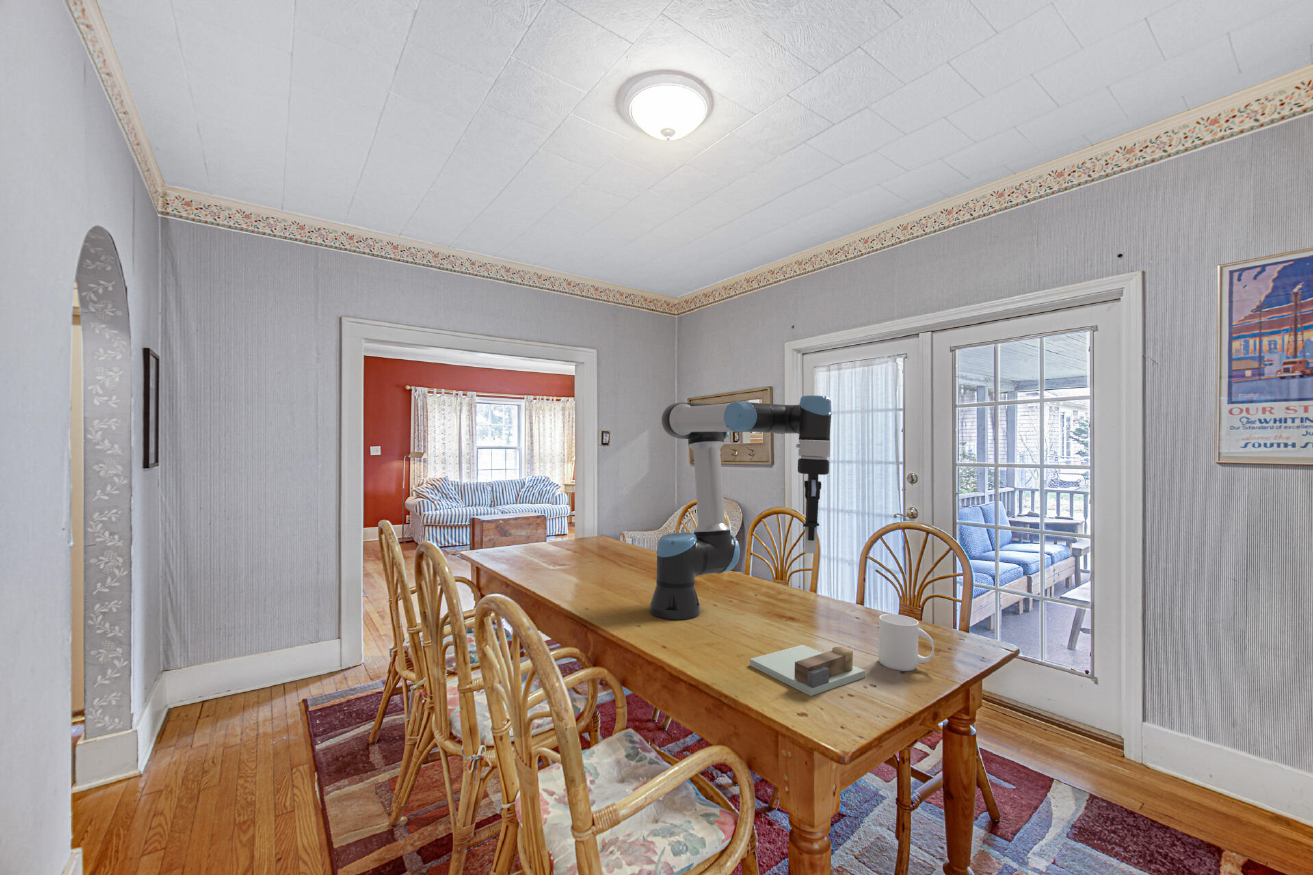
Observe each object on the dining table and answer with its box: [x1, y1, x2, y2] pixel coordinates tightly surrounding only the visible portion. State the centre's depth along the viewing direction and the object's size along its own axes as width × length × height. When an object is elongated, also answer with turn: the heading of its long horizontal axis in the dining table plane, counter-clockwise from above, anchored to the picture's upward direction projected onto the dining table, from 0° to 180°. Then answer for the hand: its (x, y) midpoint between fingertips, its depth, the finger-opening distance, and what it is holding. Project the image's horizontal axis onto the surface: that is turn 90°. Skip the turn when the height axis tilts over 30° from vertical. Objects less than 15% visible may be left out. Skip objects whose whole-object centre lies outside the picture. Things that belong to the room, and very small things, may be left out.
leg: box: [794, 646, 854, 684], centre depth 121 cm, size 16×4×4 cm, turn 125°
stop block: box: [807, 666, 829, 688], centre depth 115 cm, size 1×5×3 cm, turn 124°
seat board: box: [749, 644, 866, 697], centre depth 126 cm, size 18×18×2 cm
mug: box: [877, 613, 935, 672], centre depth 130 cm, size 9×12×11 cm
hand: (810, 552), depth 137 cm, fingers closed
